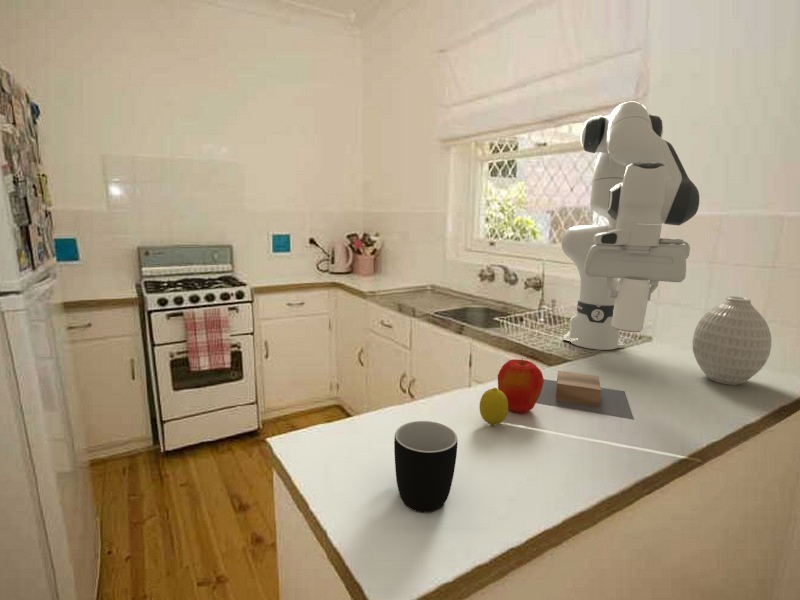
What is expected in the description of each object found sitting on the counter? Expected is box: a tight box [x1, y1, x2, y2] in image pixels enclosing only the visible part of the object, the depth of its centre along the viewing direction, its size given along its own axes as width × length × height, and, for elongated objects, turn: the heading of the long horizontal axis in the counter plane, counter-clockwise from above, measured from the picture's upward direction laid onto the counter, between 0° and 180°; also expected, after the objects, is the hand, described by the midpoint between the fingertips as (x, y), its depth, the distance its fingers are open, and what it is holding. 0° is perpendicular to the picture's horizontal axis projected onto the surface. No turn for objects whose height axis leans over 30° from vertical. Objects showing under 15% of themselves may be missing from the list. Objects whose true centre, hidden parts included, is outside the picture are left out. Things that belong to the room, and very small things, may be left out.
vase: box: [692, 295, 773, 386], centre depth 113 cm, size 16×16×22 cm
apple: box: [497, 357, 545, 414], centre depth 92 cm, size 9×9×12 cm
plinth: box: [556, 370, 602, 407], centre depth 101 cm, size 9×9×4 cm
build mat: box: [536, 378, 635, 420], centre depth 101 cm, size 16×22×1 cm
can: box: [612, 277, 651, 333], centre depth 99 cm, size 6×6×12 cm
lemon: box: [479, 387, 509, 427], centre depth 86 cm, size 6×6×8 cm
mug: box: [393, 420, 458, 513], centre depth 64 cm, size 12×9×10 cm
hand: (628, 298), depth 99 cm, fingers closed on can, 5 cm apart
